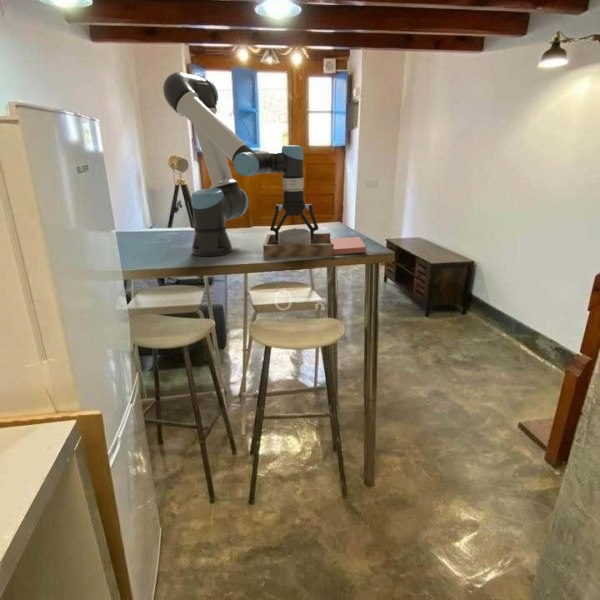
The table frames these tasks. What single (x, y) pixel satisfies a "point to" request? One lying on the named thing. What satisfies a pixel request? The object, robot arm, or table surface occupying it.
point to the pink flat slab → (348, 245)
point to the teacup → (294, 236)
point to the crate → (299, 247)
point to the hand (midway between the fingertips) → (294, 248)
